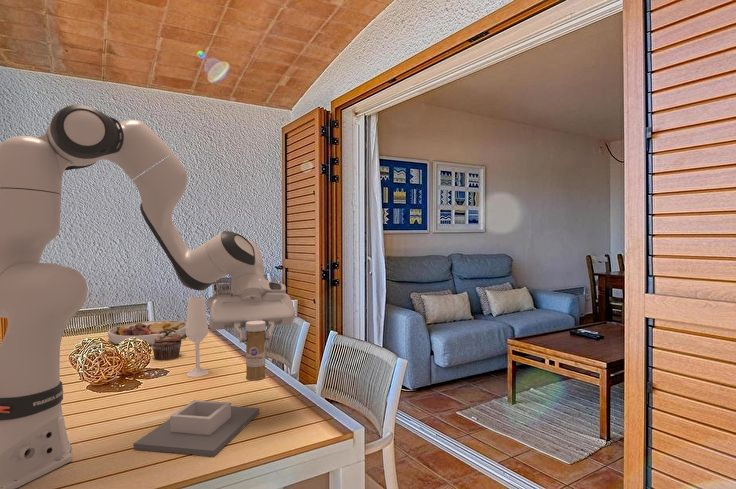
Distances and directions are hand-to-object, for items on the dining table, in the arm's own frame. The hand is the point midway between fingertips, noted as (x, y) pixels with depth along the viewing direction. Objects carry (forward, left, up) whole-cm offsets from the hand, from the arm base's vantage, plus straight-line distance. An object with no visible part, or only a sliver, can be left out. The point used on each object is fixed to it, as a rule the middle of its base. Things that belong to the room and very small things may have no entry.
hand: (255, 340), depth 106 cm
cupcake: (+46, +55, -20) cm, 75 cm away
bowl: (+70, +79, -20) cm, 108 cm away
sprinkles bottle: (0, 0, -9) cm, 10 cm away
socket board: (-6, +11, -19) cm, 23 cm away
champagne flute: (+31, +34, -20) cm, 50 cm away
